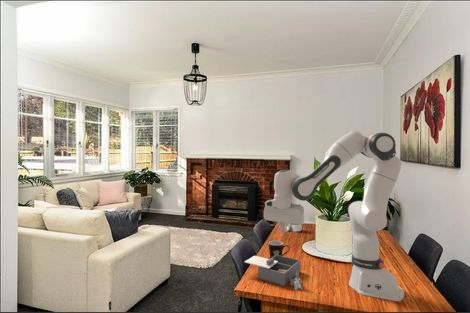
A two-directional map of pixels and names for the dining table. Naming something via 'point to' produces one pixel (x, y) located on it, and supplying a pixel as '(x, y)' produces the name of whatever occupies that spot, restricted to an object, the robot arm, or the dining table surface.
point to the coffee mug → (276, 248)
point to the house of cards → (296, 282)
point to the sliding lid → (261, 262)
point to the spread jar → (294, 227)
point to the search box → (279, 277)
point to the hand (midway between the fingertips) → (283, 231)
